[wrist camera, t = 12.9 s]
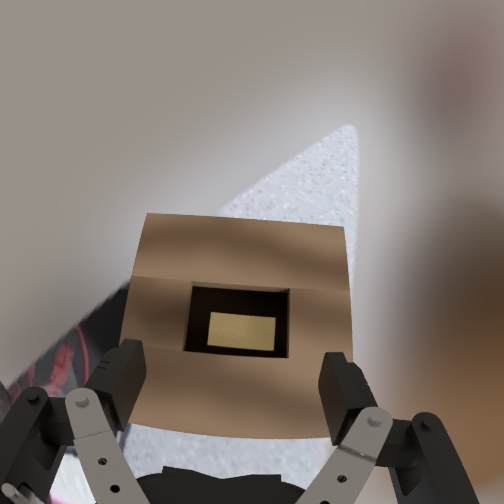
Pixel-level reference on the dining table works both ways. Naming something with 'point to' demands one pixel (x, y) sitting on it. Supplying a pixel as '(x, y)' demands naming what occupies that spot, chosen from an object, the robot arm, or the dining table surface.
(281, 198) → the dining table surface
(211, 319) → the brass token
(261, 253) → the box
